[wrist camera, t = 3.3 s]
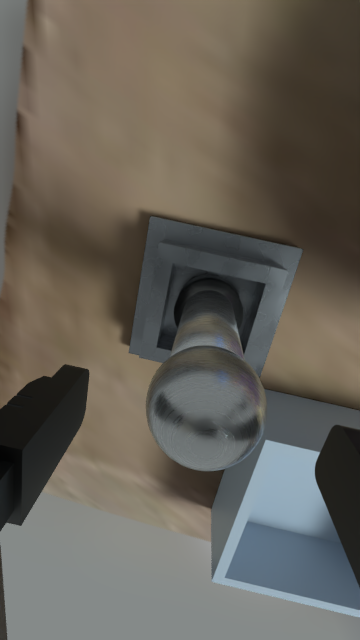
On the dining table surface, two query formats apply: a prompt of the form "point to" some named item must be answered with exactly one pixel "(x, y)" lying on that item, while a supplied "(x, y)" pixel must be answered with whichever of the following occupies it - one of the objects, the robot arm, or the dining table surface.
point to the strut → (207, 382)
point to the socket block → (217, 259)
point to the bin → (284, 512)
